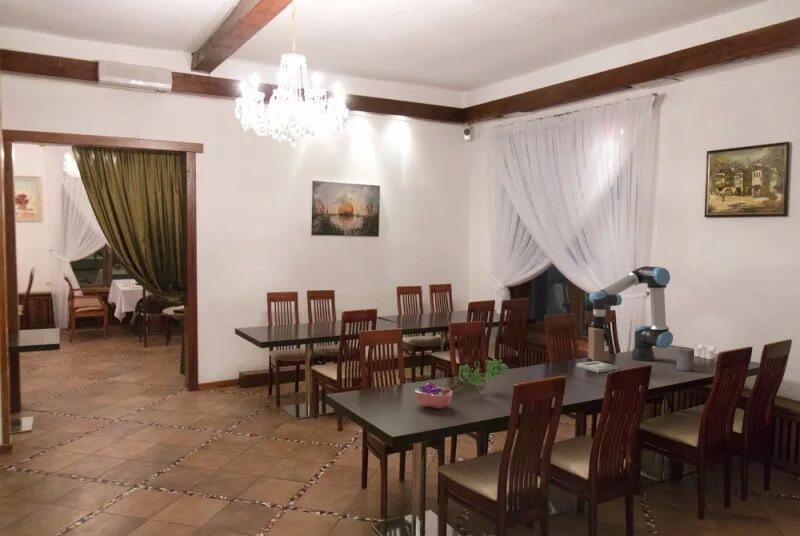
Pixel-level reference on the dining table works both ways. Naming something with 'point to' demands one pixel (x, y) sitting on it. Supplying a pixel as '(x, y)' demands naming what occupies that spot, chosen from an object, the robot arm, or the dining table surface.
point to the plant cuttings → (473, 377)
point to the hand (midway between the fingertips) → (598, 349)
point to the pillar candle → (685, 359)
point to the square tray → (597, 366)
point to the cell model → (433, 396)
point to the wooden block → (597, 345)
